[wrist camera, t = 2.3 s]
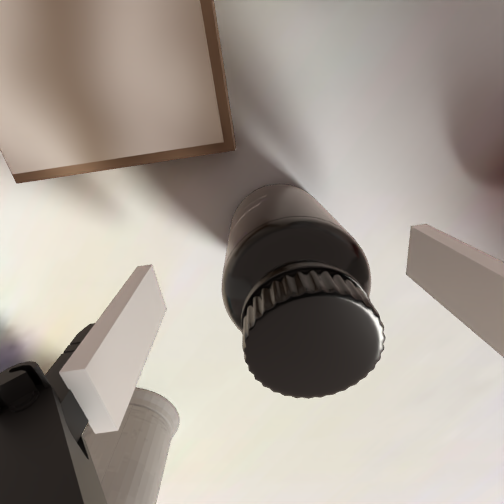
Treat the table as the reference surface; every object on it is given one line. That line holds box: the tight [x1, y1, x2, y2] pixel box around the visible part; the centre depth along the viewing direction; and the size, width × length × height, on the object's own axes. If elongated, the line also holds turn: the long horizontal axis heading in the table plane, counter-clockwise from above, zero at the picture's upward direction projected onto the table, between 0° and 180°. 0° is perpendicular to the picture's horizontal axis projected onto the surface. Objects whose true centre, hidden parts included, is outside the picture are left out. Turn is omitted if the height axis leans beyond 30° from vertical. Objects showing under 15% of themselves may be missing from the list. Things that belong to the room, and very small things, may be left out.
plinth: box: [0, 0, 236, 184], centre depth 14 cm, size 12×12×4 cm
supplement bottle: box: [222, 184, 385, 399], centre depth 14 cm, size 7×7×12 cm
